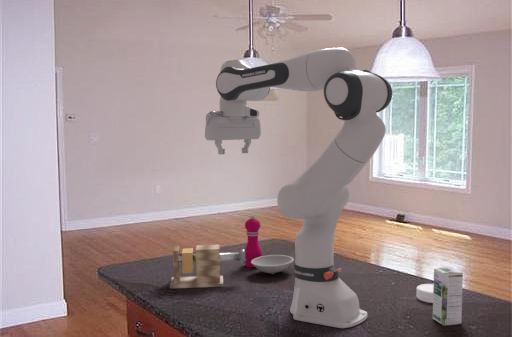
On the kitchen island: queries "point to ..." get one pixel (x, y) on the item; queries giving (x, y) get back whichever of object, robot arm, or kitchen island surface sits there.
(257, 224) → the pepper mill
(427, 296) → the white round disc
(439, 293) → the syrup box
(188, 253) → the block
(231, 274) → the kitchen island surface
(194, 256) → the shaft
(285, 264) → the dish
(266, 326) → the kitchen island surface
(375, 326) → the kitchen island surface
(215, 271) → the bracket
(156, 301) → the kitchen island surface
